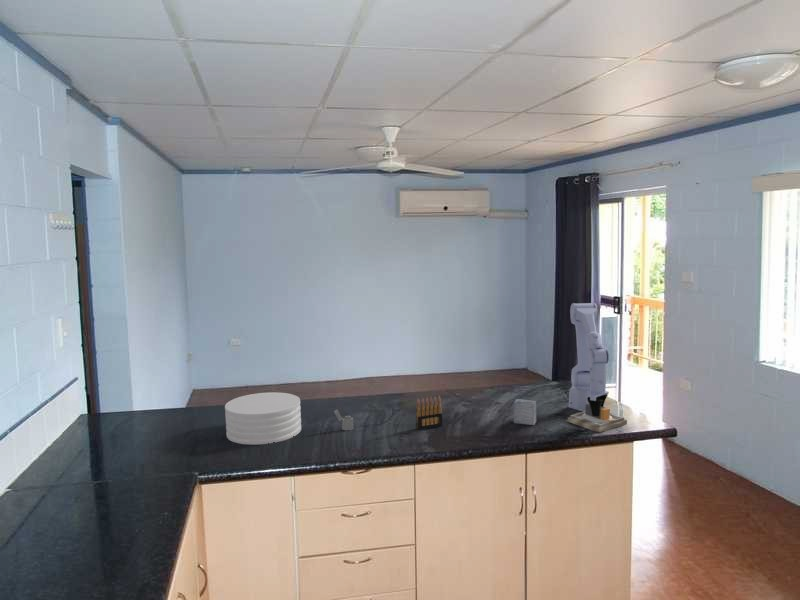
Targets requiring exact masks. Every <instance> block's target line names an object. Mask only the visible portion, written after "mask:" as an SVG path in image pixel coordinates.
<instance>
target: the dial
mask: <svg viewBox="0 0 800 600" xmlns="http://www.w3.org/2000/svg"><path fill="white" fill-rule="evenodd" d="M610 411H611V410H610V408H609V407H604V406H603V407H602V406H601V407H600V412H599V416H598V417H597V416H593V415H592V411H591V407H590V404H586V406H585V413H584V414H583V415H582V418H585V419H588V420H589V421H592V422H595V423H598V424H602V423H605V422H608V421H610V420H612V416H610V414H611V413H610Z"/></svg>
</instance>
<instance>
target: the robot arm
mask: <svg viewBox="0 0 800 600" xmlns="http://www.w3.org/2000/svg"><path fill="white" fill-rule="evenodd" d="M569 313H570V314H569V315H570V316H569V317H570V322H571V324H573V325H574V327H575V334H576V335H575V336H576V350H577V351H576V353H577V364H576V365H575V366H573V367H572V369H571V375H570V377H571V378H570V381H571V387H570V388H569V392H568V405H567V408H570V409H573V410H576V411H579V412H584V411H585V406H586V404H590V407H591V411H592V415H593V416H597V417H598V416H599V412H600V407H601V406H602V407H604V405H605V402H606V399H607V397H608V395H609V393H610V391H607V389H606V387H607V386H606V384H607V383H606V382H607V381H606V380H607V364H608V363H609V358H610V357H609V355H610V354H609V351H608V349H607V347H606V346H604V343H603V340H602V336H601V334H600V333H599V332H597V327H596V326H597V325H596V322H595V321H596V318H597V316H598V305H597V303H595V302H592V303H590V302H588V303H587V302H586V303H583V302H582V303H581V302H580V303H574V302H572V303H571V305H570V309H569Z"/></svg>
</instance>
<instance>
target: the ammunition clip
mask: <svg viewBox="0 0 800 600" xmlns="http://www.w3.org/2000/svg"><path fill="white" fill-rule="evenodd" d="M432 397H433V396H430V397H429V398H428V397H426V399H425V400H424V398H423V397H422V398H421V401H420V399H419V398H417V400H416V416H415V429H416V430H417V431H418V430H419V431H420V430H421V431H422V430H425V429H433V428H438V427H443V426H444V425H443V413H442V410H443V409H442V402H441V401H442V400H441V395H438V397H437V396H435V395H434V397H433V398H432Z"/></svg>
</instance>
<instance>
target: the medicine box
mask: <svg viewBox="0 0 800 600" xmlns="http://www.w3.org/2000/svg"><path fill="white" fill-rule="evenodd" d="M536 422H537V401H536V400H529V399H522V398H521V399H520V398H517V399H515V400H514V402H513V423H514V424H520V425H530V426H535V424H536Z"/></svg>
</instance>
